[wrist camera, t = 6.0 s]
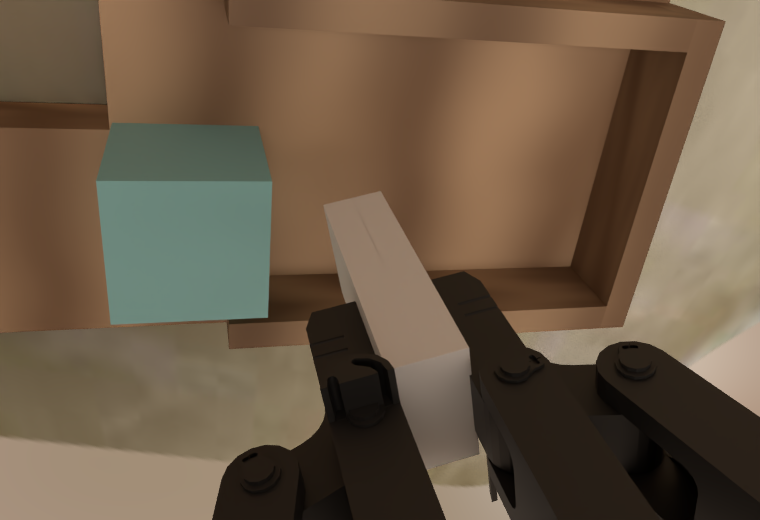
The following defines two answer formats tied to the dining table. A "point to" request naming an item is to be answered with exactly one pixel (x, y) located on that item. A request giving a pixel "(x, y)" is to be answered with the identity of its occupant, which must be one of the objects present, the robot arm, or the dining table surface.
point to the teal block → (185, 222)
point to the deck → (381, 145)
